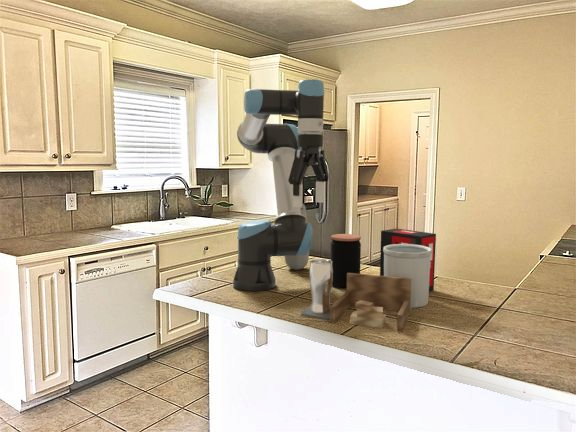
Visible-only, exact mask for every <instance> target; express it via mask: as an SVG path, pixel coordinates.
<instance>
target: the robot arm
mask: <svg viewBox="0 0 576 432" xmlns="http://www.w3.org/2000/svg"><path fill="white" fill-rule="evenodd" d="M324 101H325V86H324V82H323V81H322V80H320V79H313V78H312V79H308V78H307V79H301V80H299V82H298V88H297V90H290V89H289V90H287V89H267V88H265V89H262V88H251V89H250V88H249V89H246V90H245V91H244V95H243V109H244V113H245V116H244V119H243V121H242V122H240V124H239V126H238V127H237V131H236V136H237V140H238V142H239V144H240V145H241V146H242V147H243V148H245V150H247V151H249V152H251V153H255V154H264V155H266V154H267V157H268V158H267V159H268V160H269V161H271V162H272V171H273V181H274V189H275V191H274V193H275V200H276V201H275V202H276V210H277V216H276V218H274V223H272V222H271V220H269V219H256V220H251V221H246V222H243V223H241V224H240V225H239V226H238V228H237V236H236V238H237V266H236V270H235V273H234V277H233V280H232V282H233V283H232V285H233V286H232V287H233V288H234V289H236V290H240V291H244V292H259V291H267V290H271V289H273V288H275V287H276V276H275V273H274V270H273V267H272V265H271V259H272V257H285V256H297V255H305V254H307V253H308V252H309V253H310V250H311V248H312V241H313V233H314V232H313V226H312V225H313V224H312V223H310V222H308V223H306V218H305V216H303V215H302V214H301V210H300V207H302V203H303V184H302V182H303V179H304V177H305V174H306V172H307V170H308V168H309V167H310V166H311V167H312V169H313V170H312V171H313V173H314V175H315V178H316V182H315V203H323V204H324V203H325V183H327V182H329V171H328V168H327V162H326V158H325V150H324V149H319V148H322V147H323V145H324V144H323V143H324V135H323V132H324V125H325V123H324V110H325V109H324V107H325V106H324V104H325V102H324ZM270 115H273V116H276V115H277V116H280V115H281V116H297V126H296V125H295V124H291V123H267V122H268V119H269V118H270Z"/></svg>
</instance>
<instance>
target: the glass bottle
mask: <svg viewBox="0 0 576 432" xmlns="http://www.w3.org/2000/svg"><path fill="white" fill-rule="evenodd" d="M300 210H301V214H302V215H303V216H305V218H306V223H309V222H308V217H307V208H306V205H305V204H304V203H303V202H302V207H300ZM309 257H310V251H309V252H308V253H307V254H305V255H297V256H284V262H285V264H286V266H287V267H288V268H290V269H291V270H295V271H299V270H303V269H304V268H306V266H307V265H308V263H309V259H310V258H309Z"/></svg>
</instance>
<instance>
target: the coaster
mask: <svg viewBox="0 0 576 432" xmlns="http://www.w3.org/2000/svg"><path fill="white" fill-rule="evenodd" d="M330 308H331V306H330ZM310 309H311V304H310V305H309V306H307V308H305V309H304V310H303V311H302V312H301V313H300V316H302V317H308V318H315V319H316V318H317V319H322V320H331V312H330V313H328V314H315V313H312V312H311V311H310Z"/></svg>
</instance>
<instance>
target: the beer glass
mask: <svg viewBox="0 0 576 432" xmlns="http://www.w3.org/2000/svg"><path fill="white" fill-rule="evenodd" d="M308 276H309V277H308V281H309V287H310V288H309V289H310V294H311V304H310V305H311V309H310V311H311V312H312V313H315V314H328V313H330V312H331V308H330V307H331V301H330V300H331V299H330V298H331V293H332V287H333V286H332V281H333V266H332V261H331V259H325V258H316V259H311V260H310V261H309V269H308Z"/></svg>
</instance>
